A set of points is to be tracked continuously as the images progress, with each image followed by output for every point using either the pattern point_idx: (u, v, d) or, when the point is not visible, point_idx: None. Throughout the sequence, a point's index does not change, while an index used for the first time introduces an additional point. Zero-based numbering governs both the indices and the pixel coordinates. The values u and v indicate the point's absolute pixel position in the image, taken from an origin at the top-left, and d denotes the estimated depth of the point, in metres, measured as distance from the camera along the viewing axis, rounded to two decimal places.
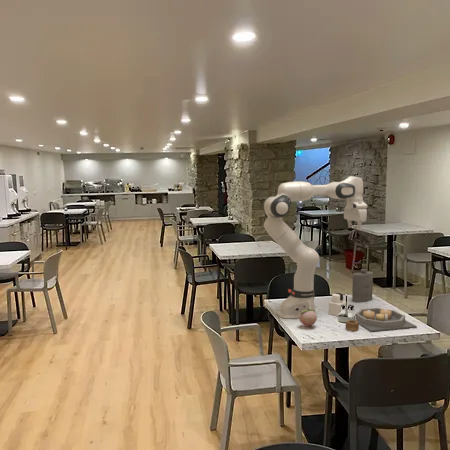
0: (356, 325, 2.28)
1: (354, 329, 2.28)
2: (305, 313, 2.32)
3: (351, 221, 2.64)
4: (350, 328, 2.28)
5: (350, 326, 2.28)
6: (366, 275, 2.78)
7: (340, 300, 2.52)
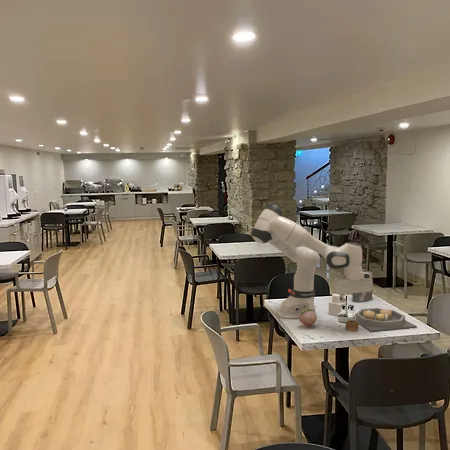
0: (356, 325, 2.28)
1: (354, 329, 2.28)
2: (305, 313, 2.32)
3: None
4: (350, 328, 2.28)
5: (350, 326, 2.28)
6: None
7: (340, 300, 2.52)
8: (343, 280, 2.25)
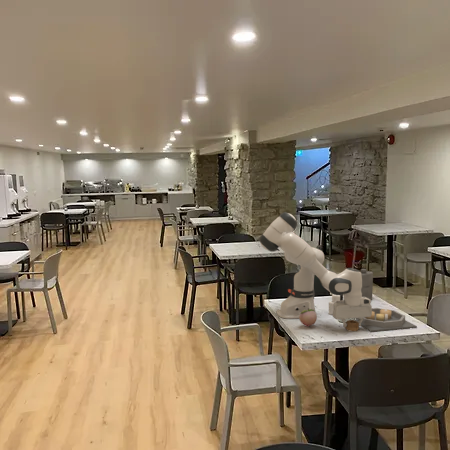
0: (356, 325, 2.28)
1: (354, 329, 2.28)
2: (305, 313, 2.32)
3: None
4: (350, 328, 2.28)
5: (350, 326, 2.28)
6: (366, 275, 2.78)
7: (340, 300, 2.52)
8: (343, 305, 2.26)
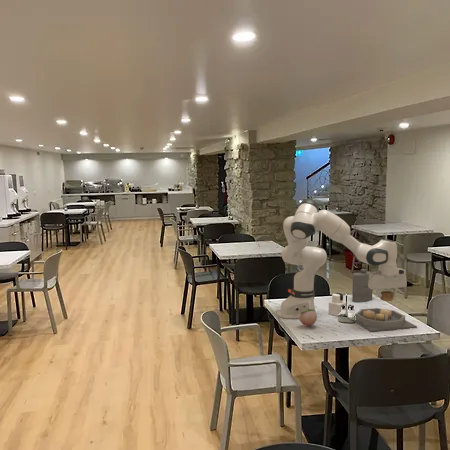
0: (391, 295, 2.31)
1: (389, 299, 2.31)
2: (305, 313, 2.32)
3: None
4: (385, 298, 2.32)
5: (385, 296, 2.32)
6: (366, 275, 2.78)
7: (340, 300, 2.52)
8: (378, 276, 2.30)
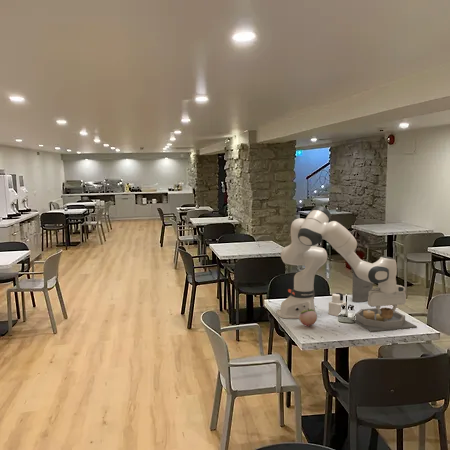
0: (391, 312, 2.32)
1: (389, 316, 2.32)
2: (305, 313, 2.32)
3: None
4: (385, 315, 2.33)
5: (385, 313, 2.33)
6: None
7: (340, 300, 2.52)
8: (378, 293, 2.31)
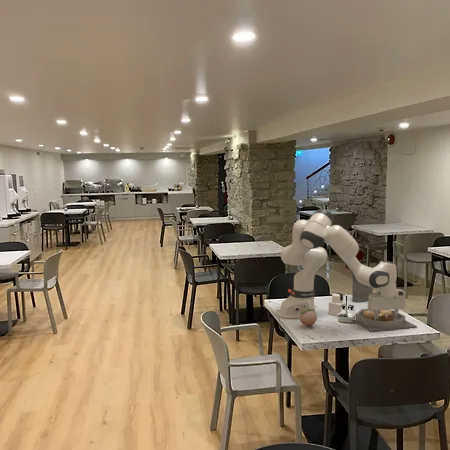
0: (391, 319, 2.33)
1: None
2: (305, 313, 2.32)
3: None
4: None
5: (386, 320, 2.33)
6: None
7: (340, 300, 2.52)
8: (378, 297, 2.31)
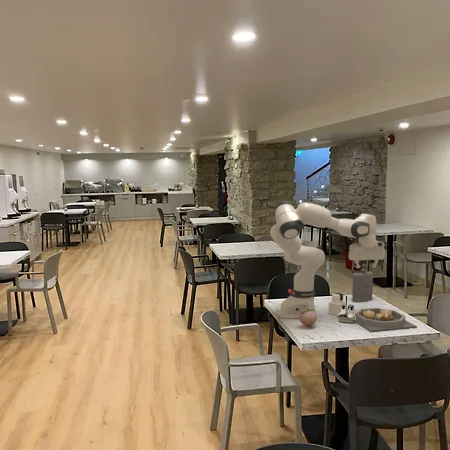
0: (391, 319, 2.33)
1: None
2: (305, 313, 2.32)
3: None
4: None
5: (386, 320, 2.33)
6: (366, 275, 2.78)
7: (340, 300, 2.52)
8: (358, 247, 2.43)
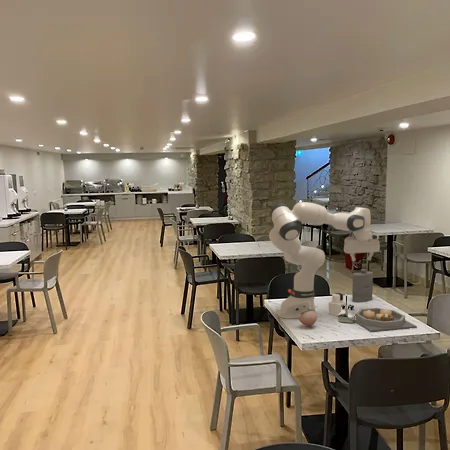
0: (391, 319, 2.33)
1: None
2: (305, 313, 2.32)
3: None
4: None
5: (386, 320, 2.33)
6: (366, 275, 2.78)
7: (340, 300, 2.52)
8: (353, 240, 2.47)
